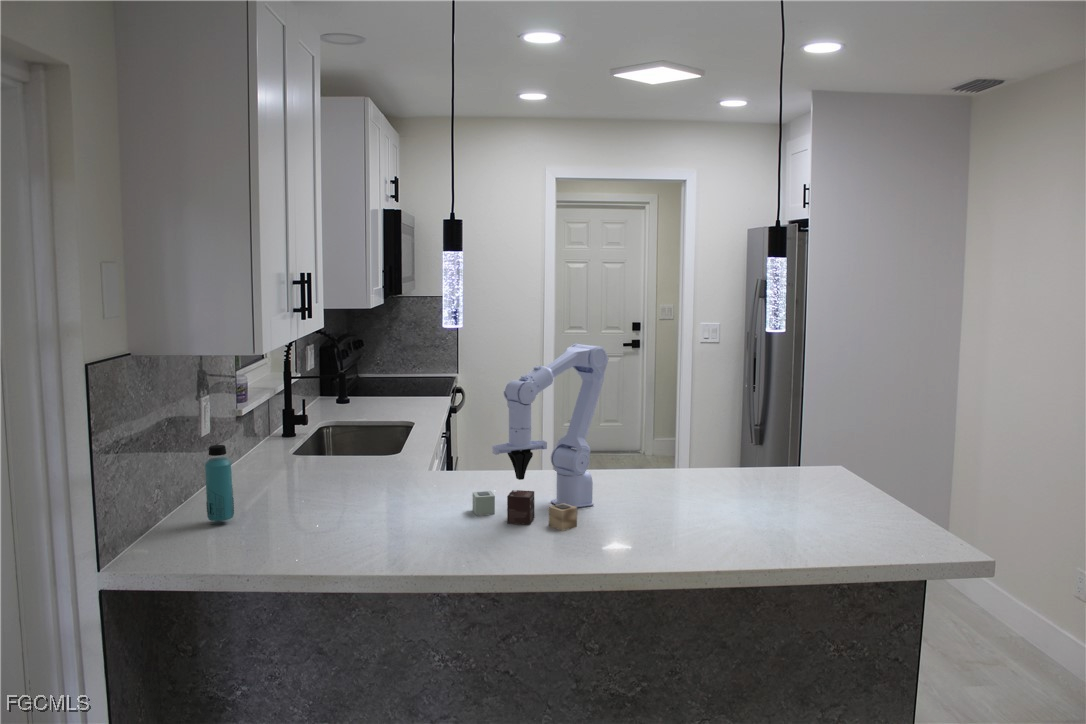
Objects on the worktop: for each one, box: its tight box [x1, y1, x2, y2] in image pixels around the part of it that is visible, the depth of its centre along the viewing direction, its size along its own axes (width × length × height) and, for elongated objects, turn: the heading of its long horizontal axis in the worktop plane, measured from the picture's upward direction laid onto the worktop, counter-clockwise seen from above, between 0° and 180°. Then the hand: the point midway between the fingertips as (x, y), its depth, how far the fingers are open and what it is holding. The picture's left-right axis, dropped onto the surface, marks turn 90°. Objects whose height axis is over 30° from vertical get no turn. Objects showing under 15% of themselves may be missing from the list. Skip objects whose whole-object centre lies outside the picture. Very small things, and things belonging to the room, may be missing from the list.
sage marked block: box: [472, 490, 496, 516], centre depth 226 cm, size 5×5×5 cm
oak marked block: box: [548, 503, 578, 531], centre depth 215 cm, size 5×5×5 cm
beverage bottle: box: [204, 444, 235, 522], centre depth 215 cm, size 6×7×20 cm
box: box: [506, 489, 536, 526], centre depth 219 cm, size 6×6×7 cm
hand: (520, 478), depth 221 cm, fingers closed
